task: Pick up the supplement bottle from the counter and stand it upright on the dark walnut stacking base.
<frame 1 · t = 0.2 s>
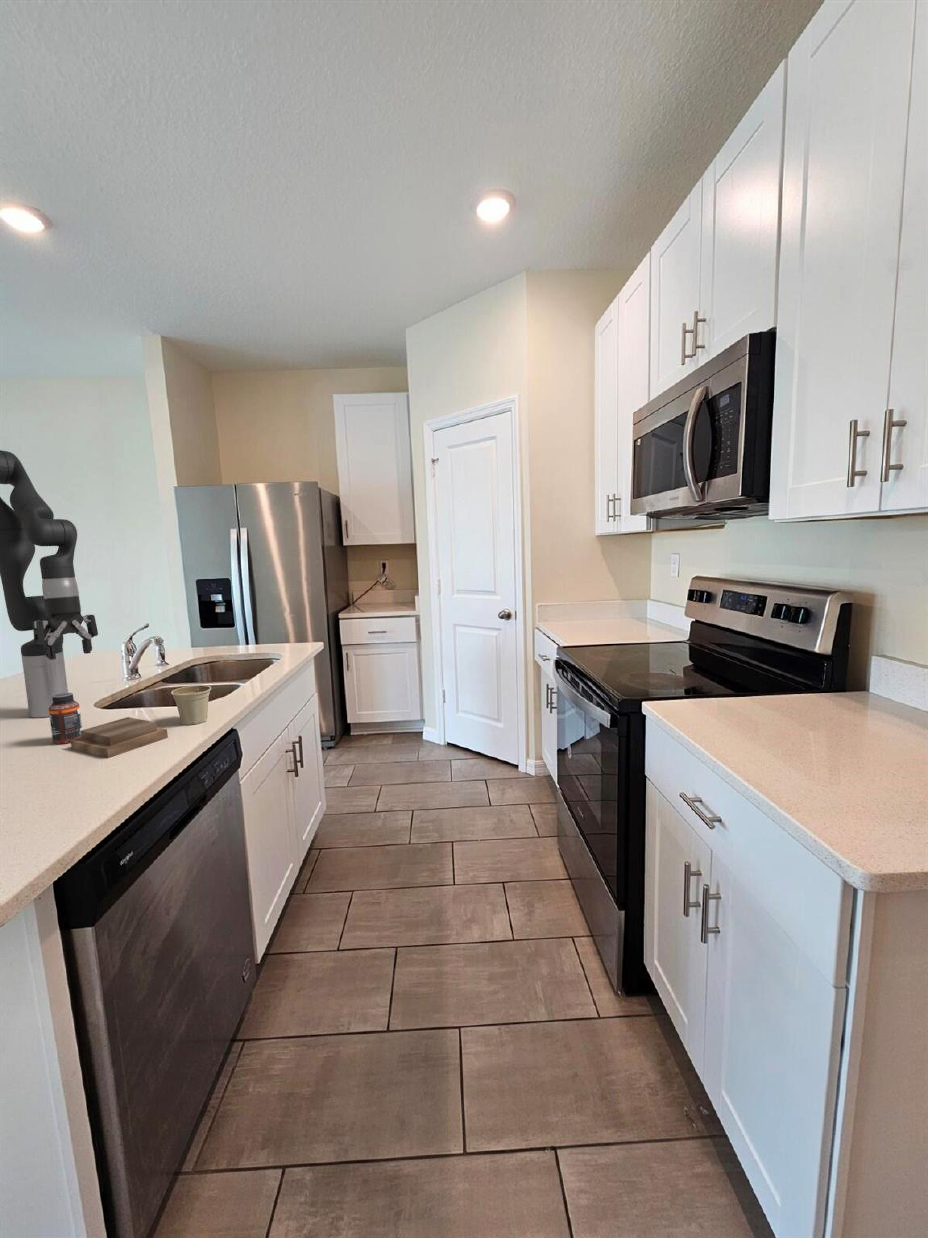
hand: (70, 656, 144), 17 cm above the countertop, tool pointing down, fingers open, 8 cm apart
flower pot: (194, 722, 142), on the countertop
supplement bottle: (68, 741, 130), on the countertop
stacking base: (120, 743, 127), on the countertop
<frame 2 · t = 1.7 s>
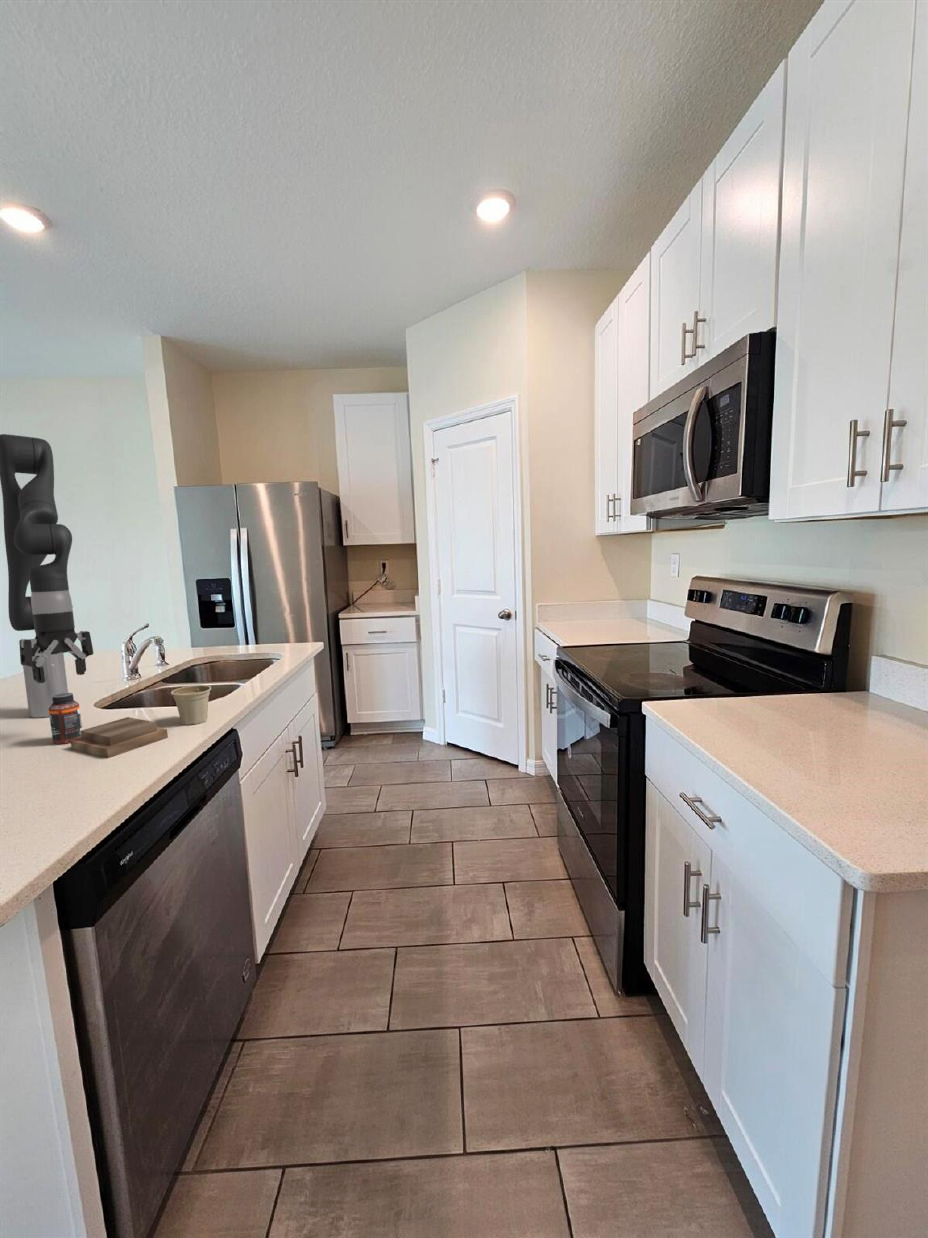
hand: (61, 678, 128), 15 cm above the countertop, tool pointing down, fingers open, 8 cm apart
nothing on the countertop moved.
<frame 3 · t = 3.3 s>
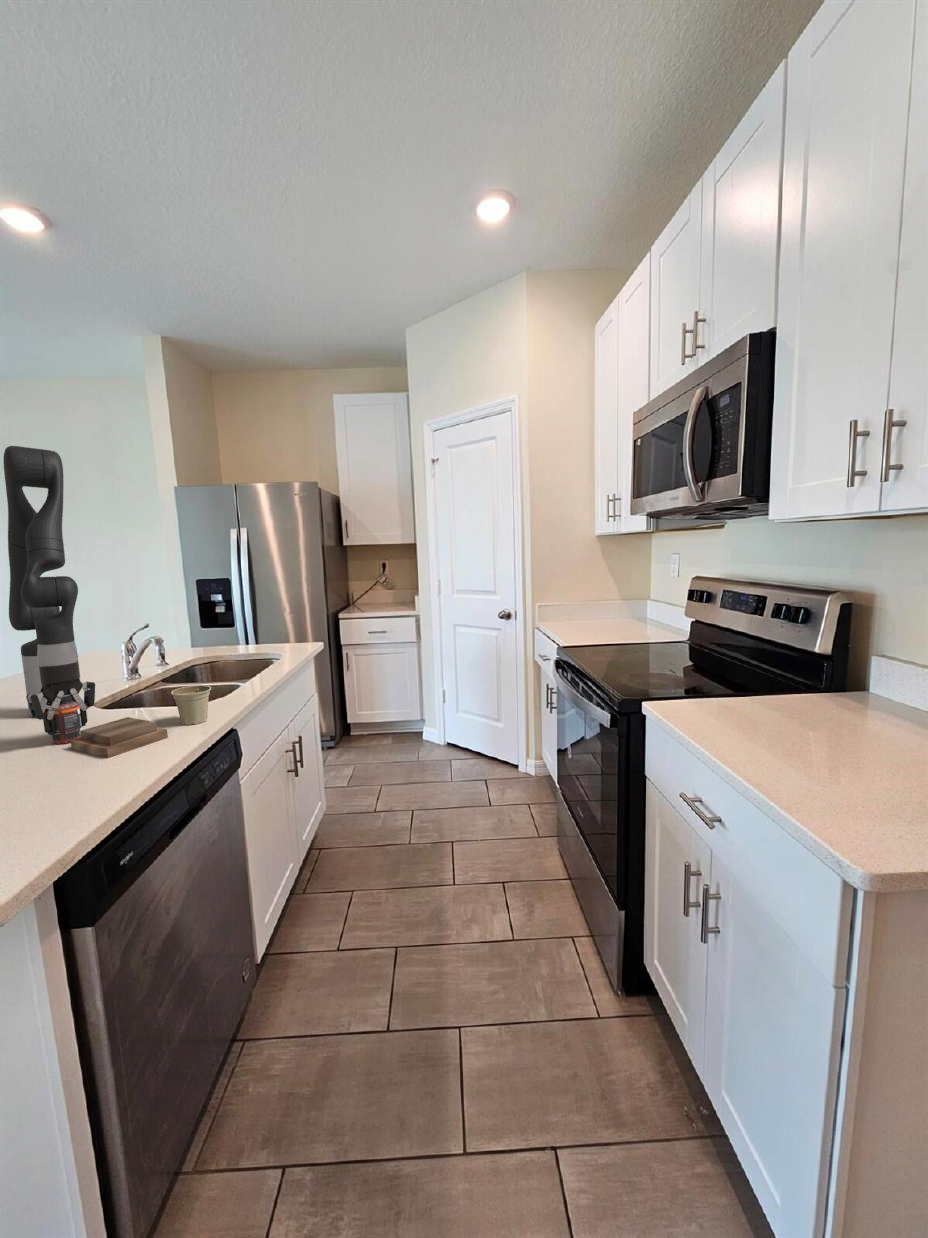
hand: (67, 729, 130), 3 cm above the countertop, tool pointing down, fingers closed on supplement bottle, 6 cm apart
supplement bottle: (68, 741, 130), on the countertop, touching gripper
everything else where it was.
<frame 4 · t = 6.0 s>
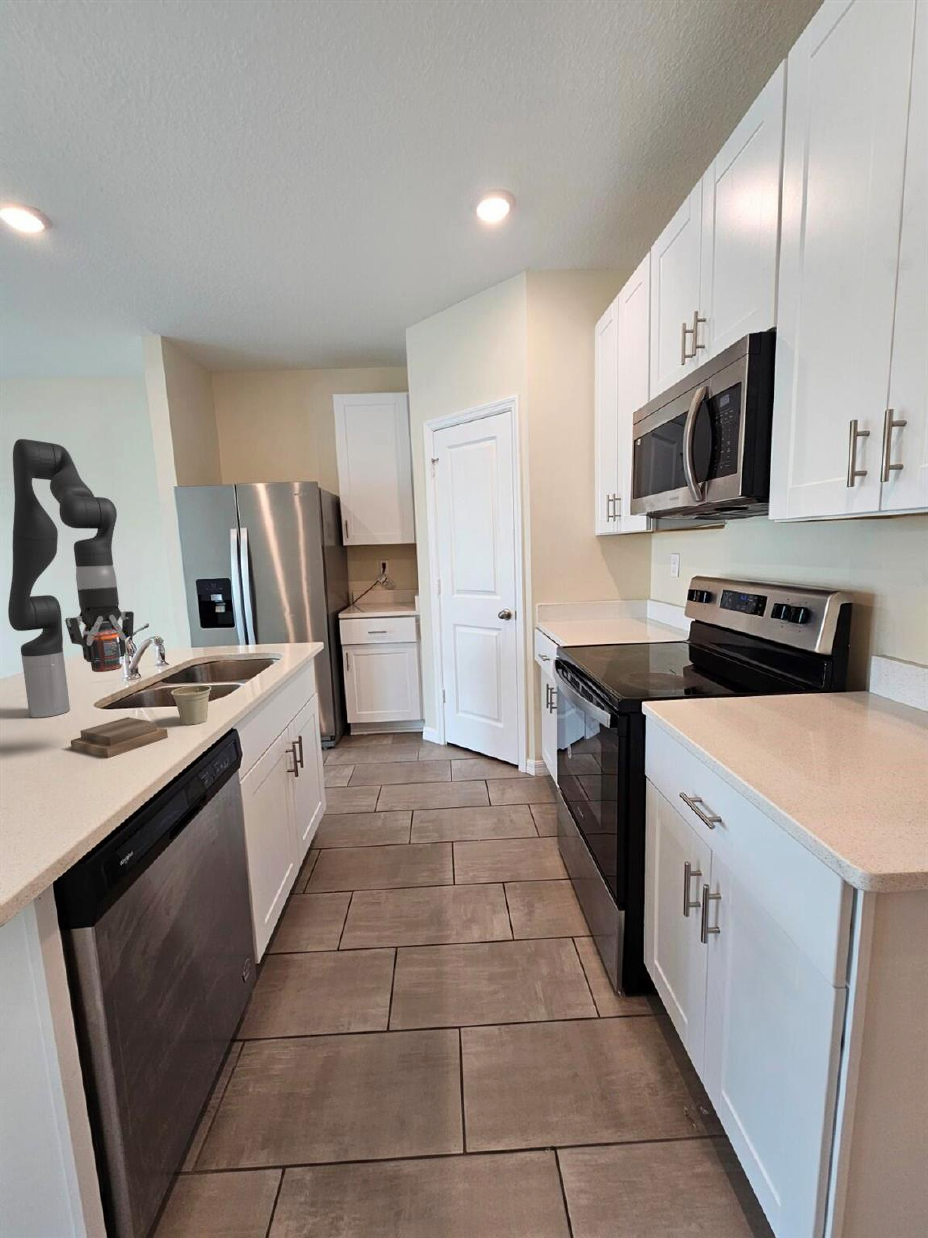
hand: (105, 658, 125), 20 cm above the countertop, tool pointing down, fingers closed on supplement bottle, 6 cm apart
supplement bottle: (107, 670, 125), point 17 cm above the countertop, touching gripper
everything else where it was.
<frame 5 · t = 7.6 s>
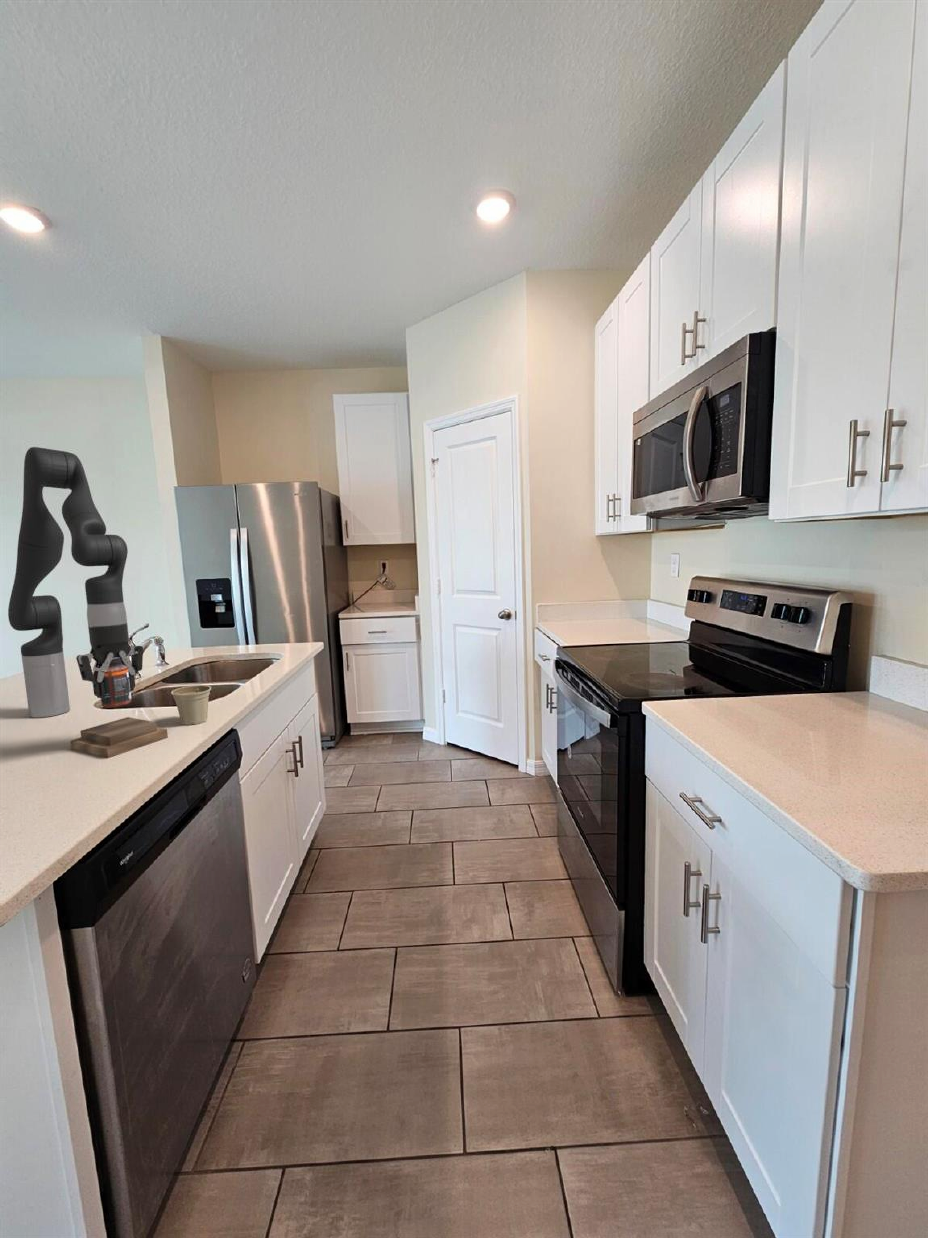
hand: (115, 693, 126), 12 cm above the countertop, tool pointing down, fingers closed on supplement bottle, 6 cm apart
supplement bottle: (117, 705, 126), point 9 cm above the countertop, touching gripper
everything else where it was.
when the fingers open (8 cm above the countertop, at t = 8.9 s): supplement bottle drops 1 cm, resting on stacking base.
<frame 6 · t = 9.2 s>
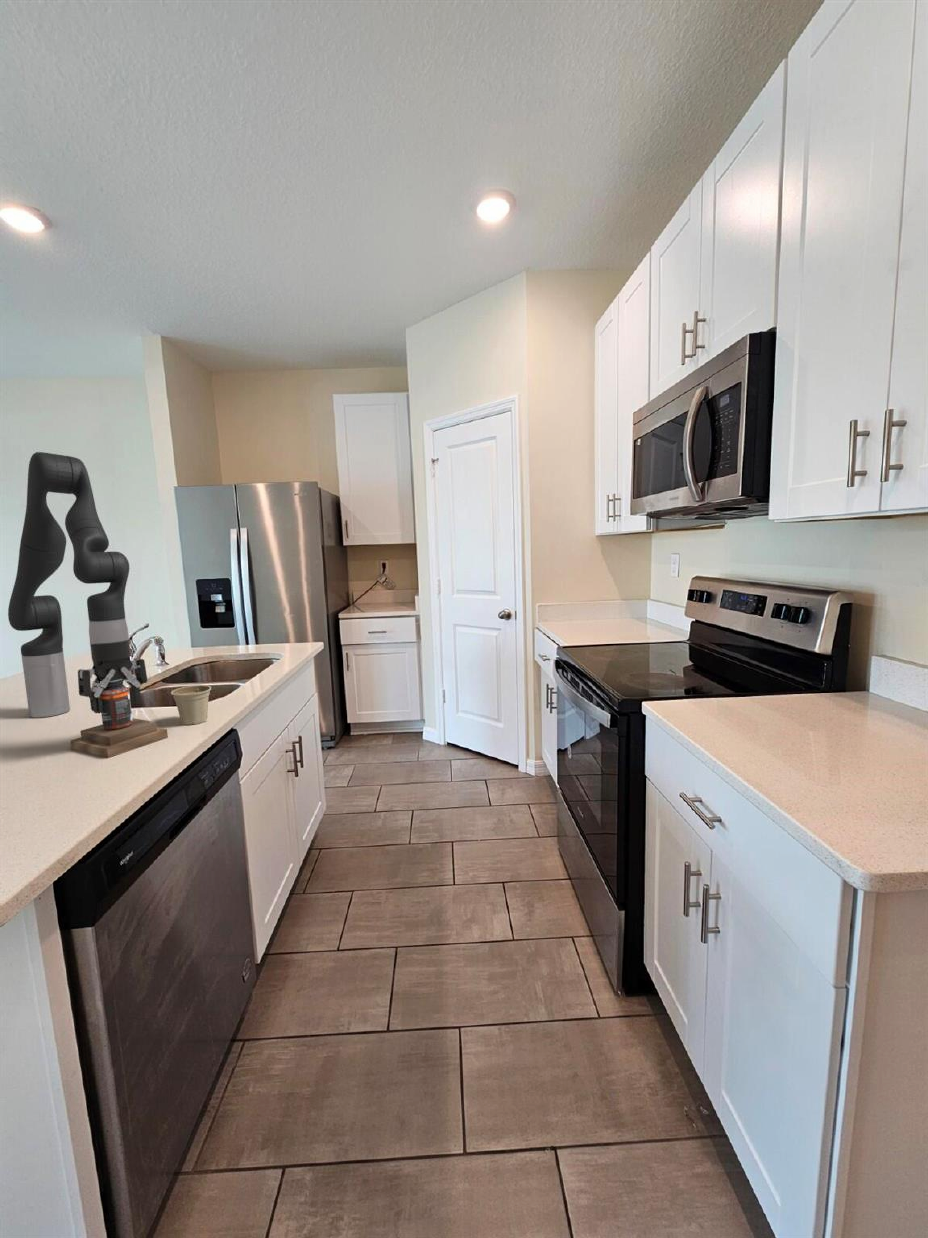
hand: (117, 707, 126), 9 cm above the countertop, tool pointing down, fingers open, 8 cm apart
supplement bottle: (118, 727, 127), point 4 cm above the countertop, touching stacking base
everything else where it was.
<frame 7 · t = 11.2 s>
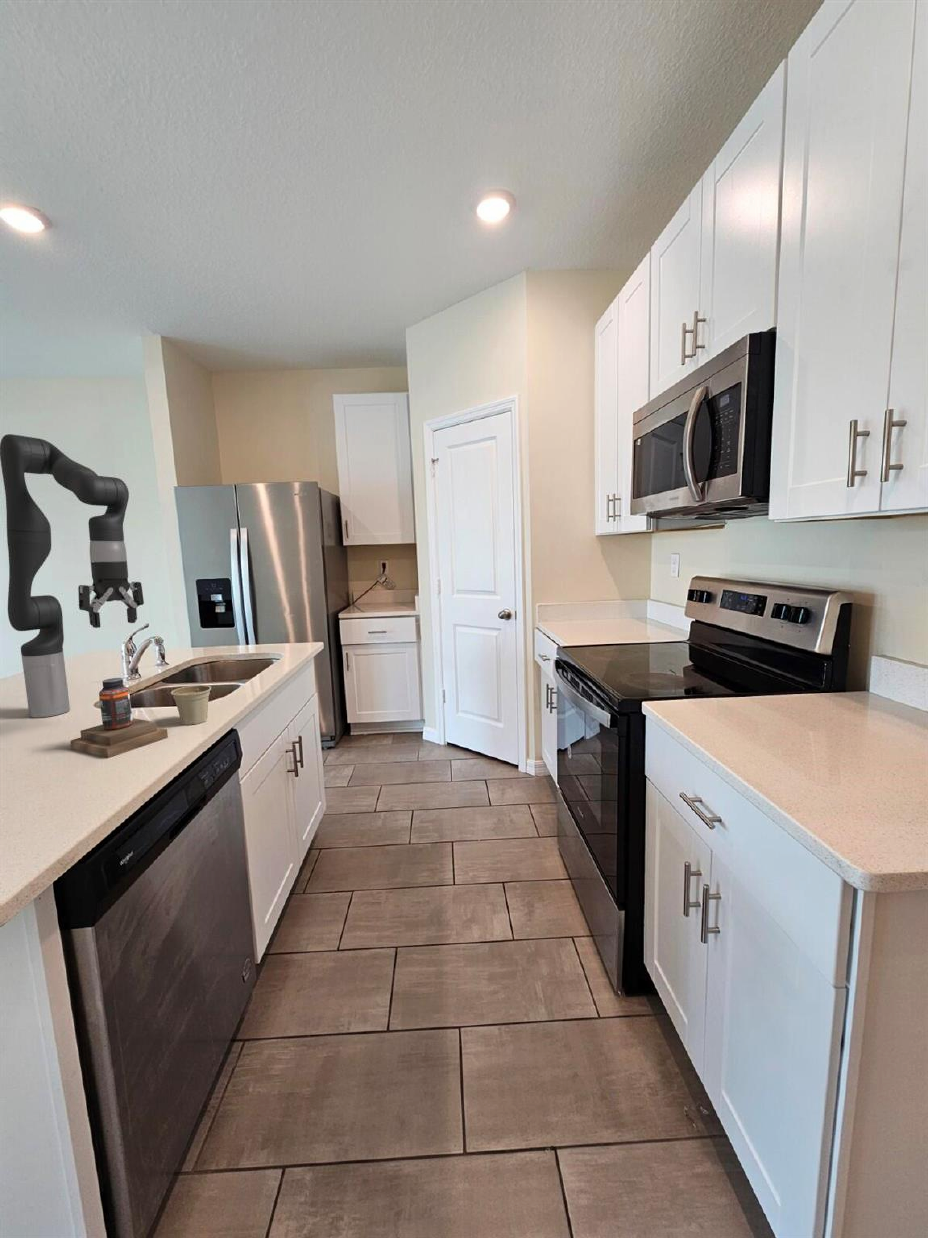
hand: (114, 625, 135), 27 cm above the countertop, tool pointing down, fingers open, 8 cm apart
nothing on the countertop moved.
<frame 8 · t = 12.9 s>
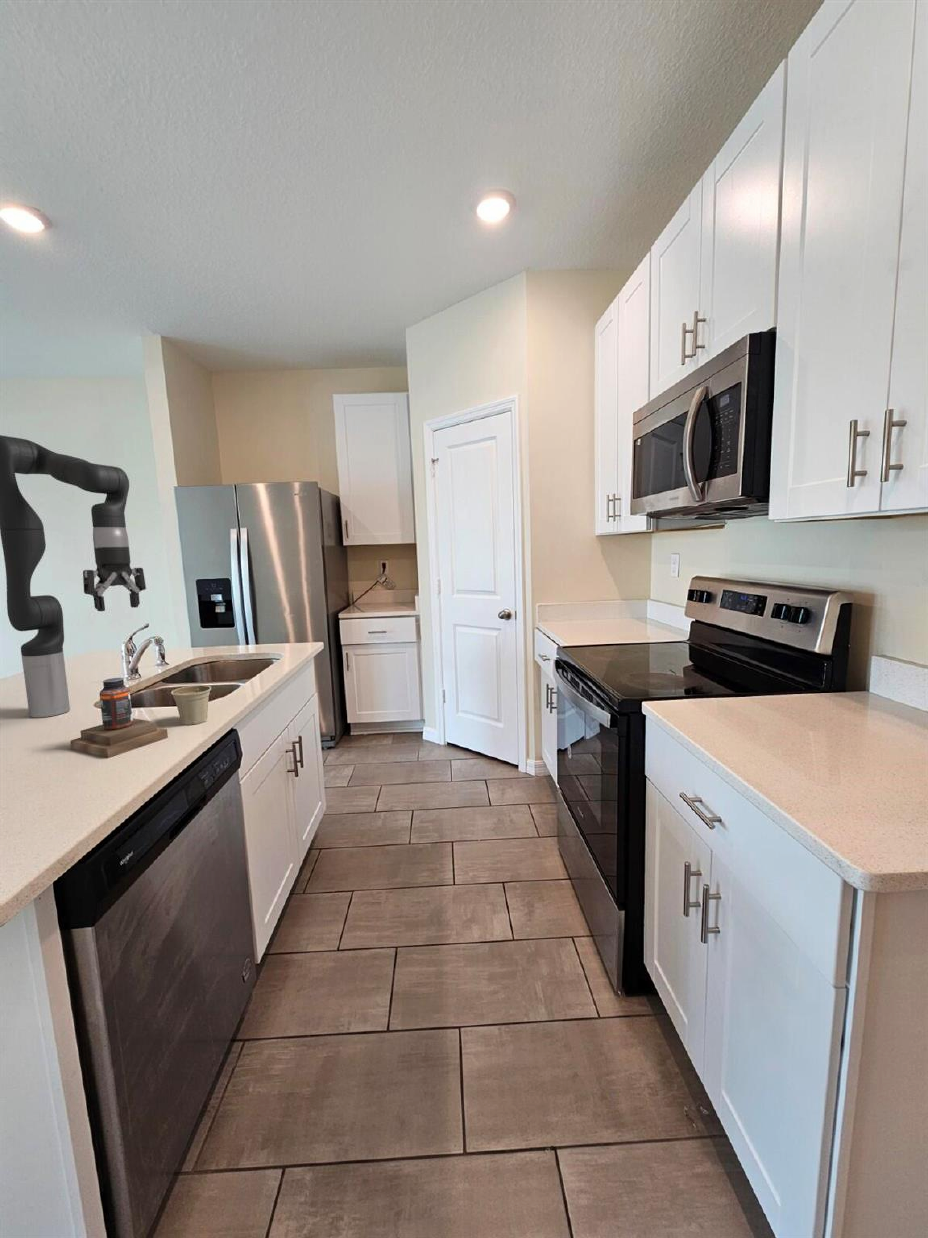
hand: (118, 609, 139), 30 cm above the countertop, tool pointing down, fingers open, 8 cm apart
nothing on the countertop moved.
at the end: supplement bottle inside the target area on the stacking base (0.2 cm from its centre), point 3.8 cm above the stacking base's base; supplement bottle tilted 0°; the gripper is holding nothing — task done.
